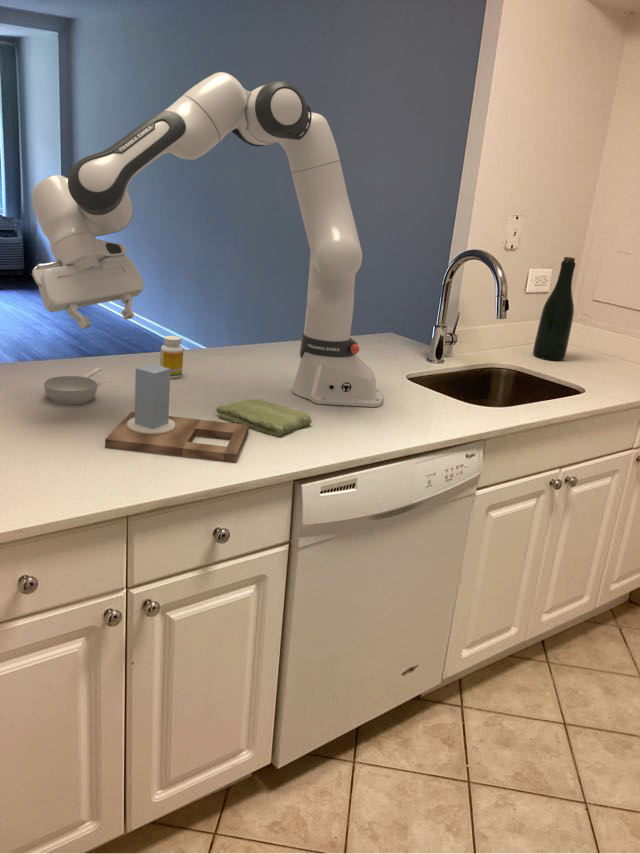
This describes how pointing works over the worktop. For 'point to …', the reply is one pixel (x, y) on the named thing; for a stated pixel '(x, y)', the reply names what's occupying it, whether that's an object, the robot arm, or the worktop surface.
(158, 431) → the felt coaster
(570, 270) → the green wine bottle
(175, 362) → the supplement bottle
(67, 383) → the saucepan
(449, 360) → the worktop surface
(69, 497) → the worktop surface
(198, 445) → the walnut board
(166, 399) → the slate block
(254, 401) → the washcloth
